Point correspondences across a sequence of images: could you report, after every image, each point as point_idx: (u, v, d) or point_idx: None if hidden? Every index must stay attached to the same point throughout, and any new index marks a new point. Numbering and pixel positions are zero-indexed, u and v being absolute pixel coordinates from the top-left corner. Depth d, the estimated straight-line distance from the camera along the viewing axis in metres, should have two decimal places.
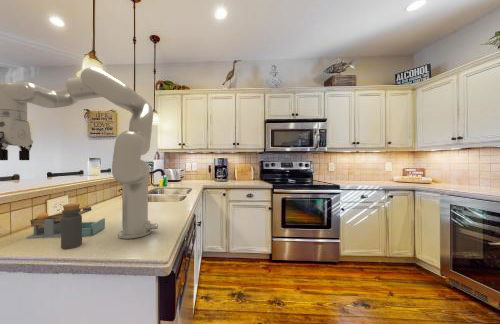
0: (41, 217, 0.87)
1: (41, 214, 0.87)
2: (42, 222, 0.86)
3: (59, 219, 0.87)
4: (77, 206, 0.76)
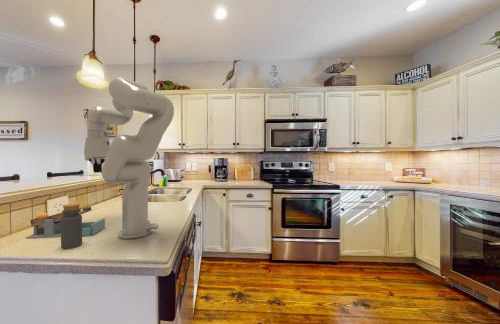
0: (41, 217, 0.87)
1: (41, 214, 0.87)
2: (42, 222, 0.86)
3: (59, 219, 0.87)
4: (77, 206, 0.76)
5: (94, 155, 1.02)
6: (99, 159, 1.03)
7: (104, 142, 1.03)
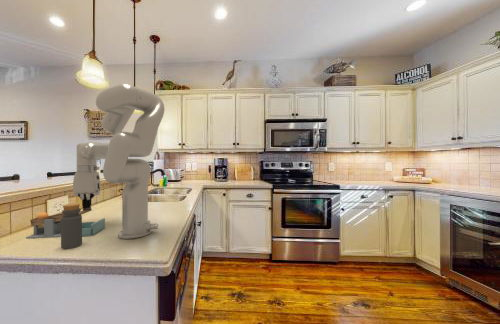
0: (41, 217, 0.87)
1: (41, 214, 0.87)
2: (42, 222, 0.86)
3: (59, 219, 0.87)
4: (77, 206, 0.76)
5: (83, 191, 0.99)
6: (88, 194, 1.00)
7: (93, 177, 0.99)
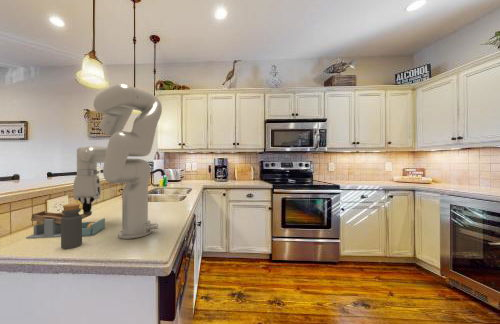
0: None
1: (88, 225, 0.90)
2: (42, 220, 0.86)
3: (59, 222, 0.87)
4: (77, 206, 0.76)
5: (83, 195, 0.99)
6: (88, 198, 1.00)
7: (94, 181, 0.99)
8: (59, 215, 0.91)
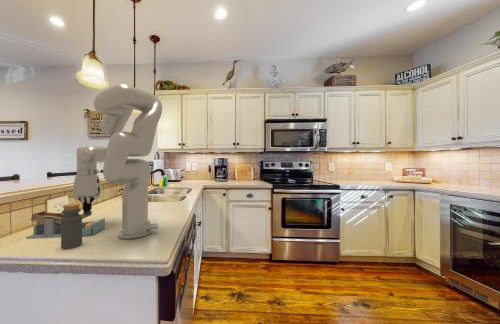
0: (87, 226, 0.90)
1: (85, 227, 0.90)
2: (42, 220, 0.86)
3: (59, 222, 0.87)
4: (77, 206, 0.76)
5: (83, 194, 0.99)
6: (88, 198, 1.00)
7: (94, 181, 0.99)
8: (59, 215, 0.91)
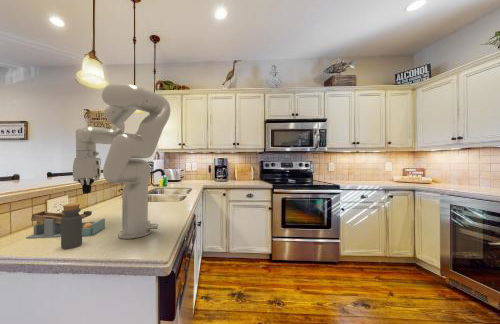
0: (84, 226, 0.89)
1: None
2: (42, 220, 0.86)
3: (59, 222, 0.87)
4: (77, 206, 0.76)
5: (83, 176, 0.99)
6: (88, 180, 1.00)
7: (93, 162, 0.99)
8: (59, 215, 0.91)
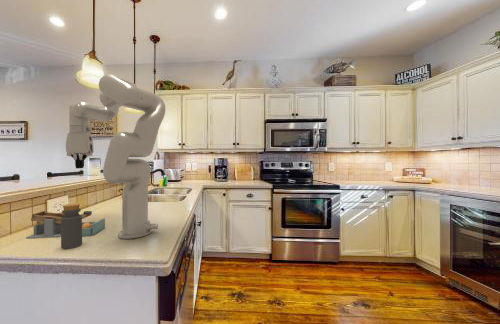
0: (82, 227, 0.89)
1: None
2: (42, 220, 0.86)
3: (59, 222, 0.87)
4: (77, 206, 0.76)
5: (76, 151, 1.01)
6: (81, 155, 1.02)
7: (86, 137, 1.01)
8: (59, 215, 0.91)
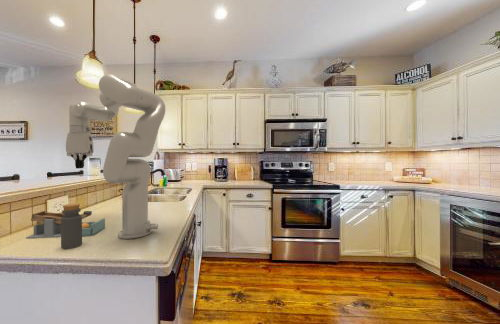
0: None
1: None
2: (42, 220, 0.86)
3: (59, 222, 0.87)
4: (77, 206, 0.76)
5: (76, 151, 1.01)
6: (81, 155, 1.02)
7: (86, 137, 1.01)
8: (59, 215, 0.91)
